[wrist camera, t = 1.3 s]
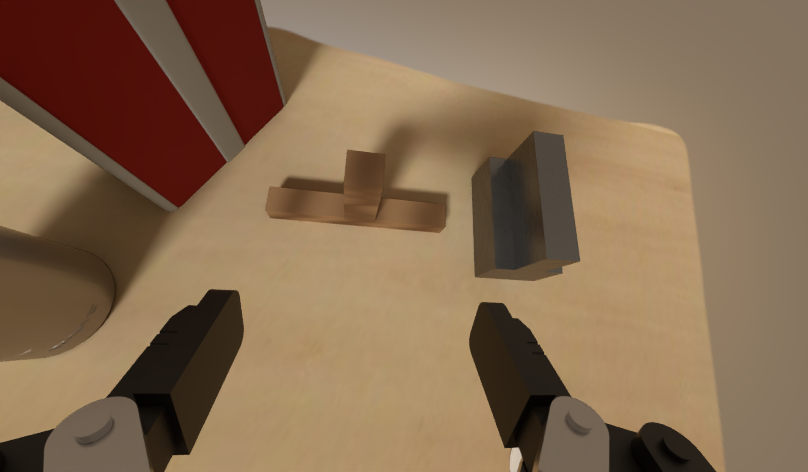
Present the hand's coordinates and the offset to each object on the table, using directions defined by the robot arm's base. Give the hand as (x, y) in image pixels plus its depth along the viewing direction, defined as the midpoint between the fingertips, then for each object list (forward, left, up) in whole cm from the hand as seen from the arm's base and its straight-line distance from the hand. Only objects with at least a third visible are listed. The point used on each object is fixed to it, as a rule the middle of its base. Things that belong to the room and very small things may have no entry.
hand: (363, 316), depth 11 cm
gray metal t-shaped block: (+8, +18, -21) cm, 29 cm away
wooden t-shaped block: (-6, +10, -21) cm, 24 cm away
